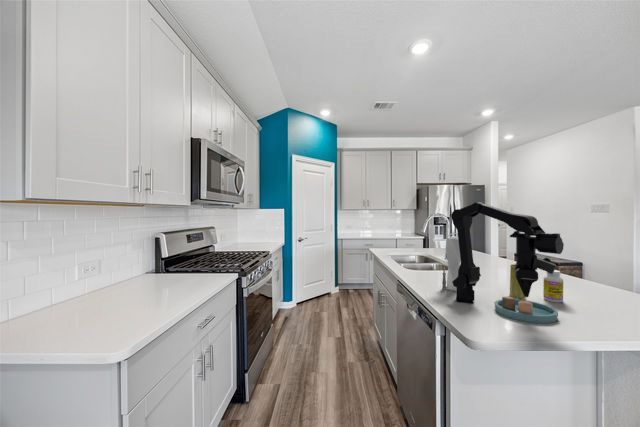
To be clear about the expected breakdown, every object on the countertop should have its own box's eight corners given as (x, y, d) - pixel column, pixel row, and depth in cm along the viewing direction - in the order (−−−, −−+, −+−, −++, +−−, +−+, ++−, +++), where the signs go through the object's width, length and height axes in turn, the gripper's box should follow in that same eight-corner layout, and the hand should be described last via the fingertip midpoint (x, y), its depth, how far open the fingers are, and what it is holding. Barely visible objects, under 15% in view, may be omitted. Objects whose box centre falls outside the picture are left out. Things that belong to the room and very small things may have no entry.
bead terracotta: (518, 315, 105) (518, 303, 105) (518, 312, 109) (518, 300, 109) (532, 318, 103) (532, 305, 103) (532, 314, 106) (532, 302, 106)
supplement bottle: (546, 301, 124) (546, 271, 124) (541, 297, 130) (541, 268, 130) (566, 303, 121) (566, 272, 121) (559, 299, 127) (559, 269, 127)
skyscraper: (448, 286, 151) (448, 232, 150) (465, 289, 145) (465, 233, 144) (441, 289, 145) (441, 233, 144) (458, 293, 139) (458, 234, 138)
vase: (528, 299, 127) (528, 266, 127) (512, 298, 128) (512, 266, 128) (521, 295, 133) (521, 264, 133) (506, 294, 134) (506, 263, 134)
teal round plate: (499, 318, 105) (499, 311, 105) (491, 302, 123) (491, 297, 123) (566, 326, 98) (566, 319, 98) (547, 308, 115) (547, 302, 115)
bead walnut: (500, 307, 114) (500, 296, 114) (512, 308, 113) (512, 296, 113) (504, 311, 110) (504, 299, 110) (517, 312, 109) (517, 300, 109)
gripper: (557, 255, 93) (557, 304, 93) (551, 249, 109) (551, 290, 109) (515, 253, 99) (515, 299, 99) (515, 247, 115) (515, 286, 115)
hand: (525, 293), depth 106 cm, fingers open, 9 cm apart
